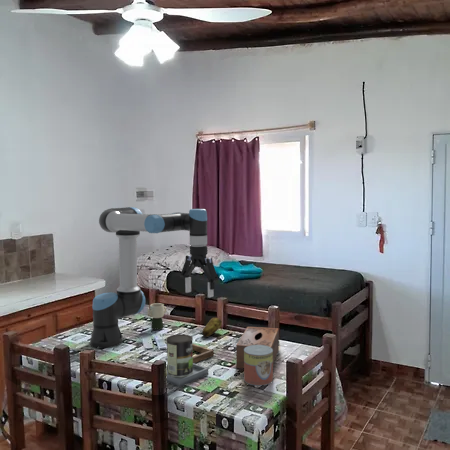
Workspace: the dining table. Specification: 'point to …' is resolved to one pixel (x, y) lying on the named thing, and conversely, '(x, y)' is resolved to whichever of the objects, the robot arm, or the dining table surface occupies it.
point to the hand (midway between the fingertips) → (199, 294)
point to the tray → (197, 373)
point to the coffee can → (179, 355)
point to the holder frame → (205, 353)
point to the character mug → (157, 315)
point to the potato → (212, 327)
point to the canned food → (258, 365)
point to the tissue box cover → (257, 341)
